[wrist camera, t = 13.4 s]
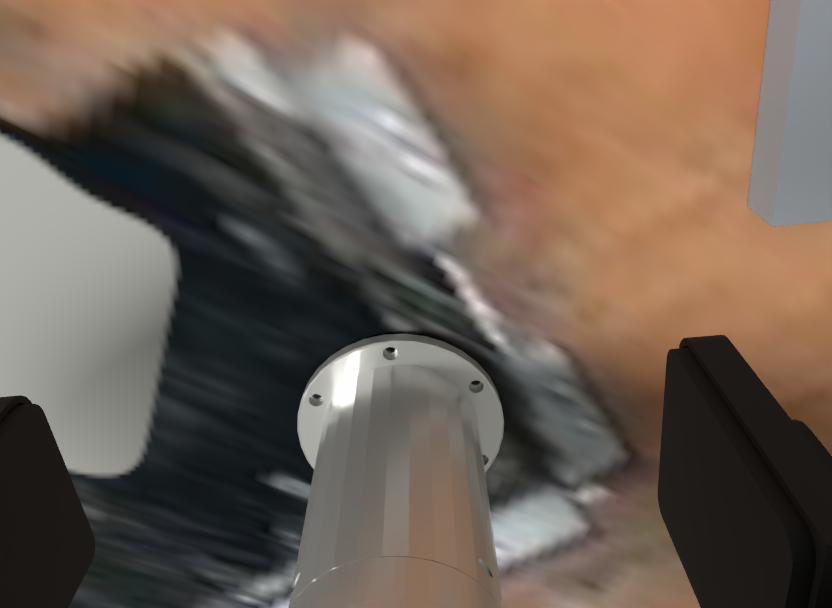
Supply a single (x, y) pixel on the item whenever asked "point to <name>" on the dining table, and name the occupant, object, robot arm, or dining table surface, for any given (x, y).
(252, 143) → the dining table surface
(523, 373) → the dining table surface
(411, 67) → the dining table surface
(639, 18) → the dining table surface
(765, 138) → the grey hole board
